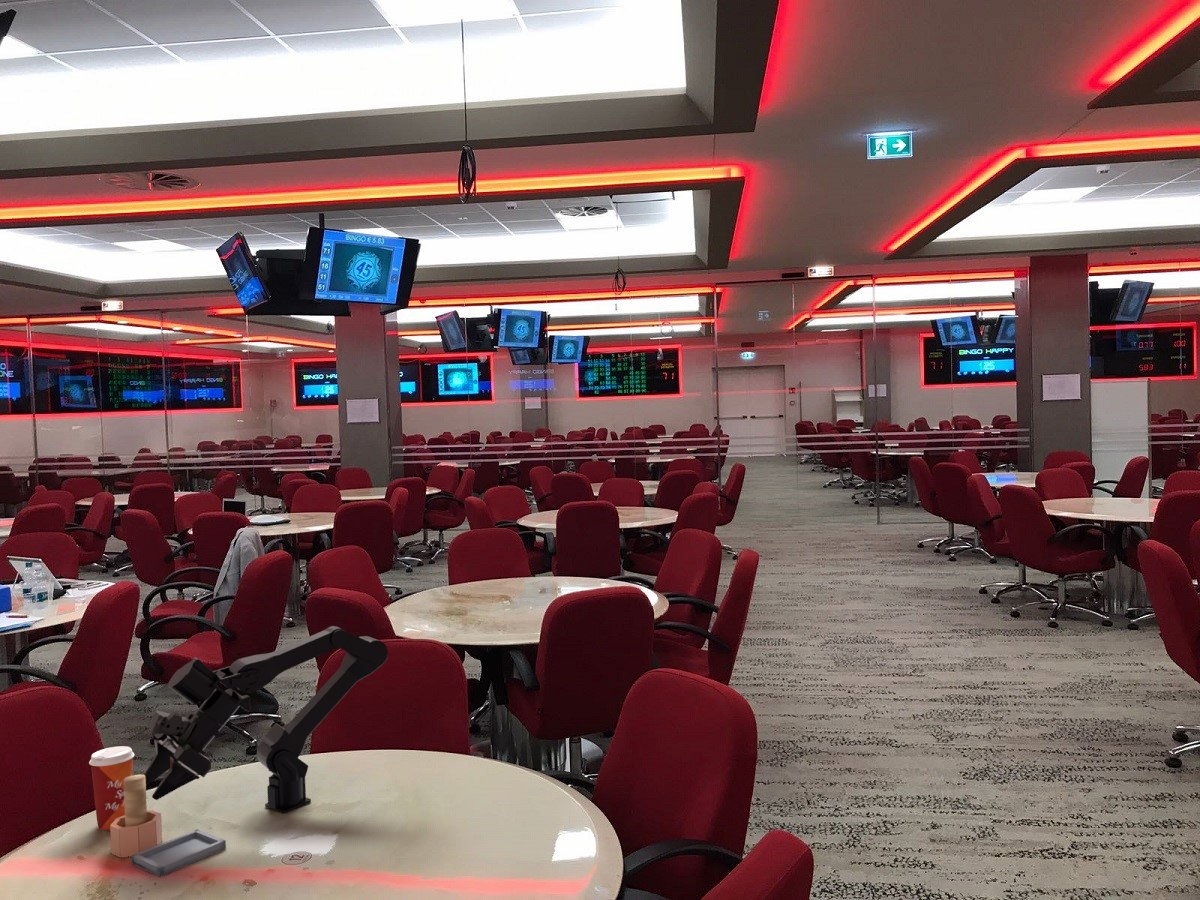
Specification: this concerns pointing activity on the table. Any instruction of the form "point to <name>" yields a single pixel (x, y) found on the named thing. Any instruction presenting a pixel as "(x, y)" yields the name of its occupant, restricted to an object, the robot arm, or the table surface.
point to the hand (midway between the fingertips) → (148, 791)
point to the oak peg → (135, 800)
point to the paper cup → (110, 782)
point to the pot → (135, 835)
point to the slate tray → (178, 852)
